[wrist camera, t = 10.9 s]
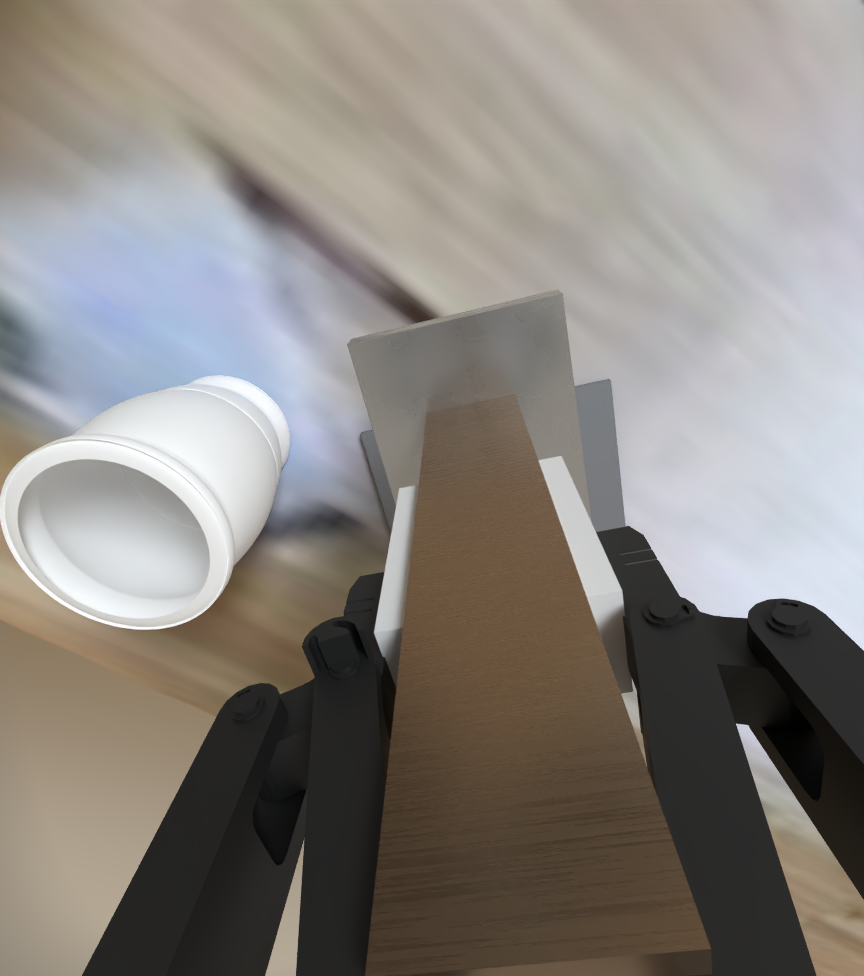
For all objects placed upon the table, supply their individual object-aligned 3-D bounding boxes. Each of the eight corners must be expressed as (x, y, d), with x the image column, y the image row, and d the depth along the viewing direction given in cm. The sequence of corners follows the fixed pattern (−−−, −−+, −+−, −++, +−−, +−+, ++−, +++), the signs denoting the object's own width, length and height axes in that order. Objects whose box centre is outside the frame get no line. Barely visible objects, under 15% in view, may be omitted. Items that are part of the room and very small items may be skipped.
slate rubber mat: (361, 432, 39) (360, 434, 38) (608, 379, 37) (610, 381, 36) (428, 649, 47) (428, 653, 47) (633, 617, 45) (635, 621, 45)
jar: (151, 476, 41) (3, 604, 28) (159, 339, 37) (-12, 410, 23) (293, 513, 42) (217, 653, 28) (318, 383, 38) (242, 476, 24)
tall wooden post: (351, 339, 22) (1, 811, 5) (557, 289, 21) (1054, 665, 4) (414, 550, 26) (349, 1195, 9) (587, 518, 25) (881, 1177, 8)
